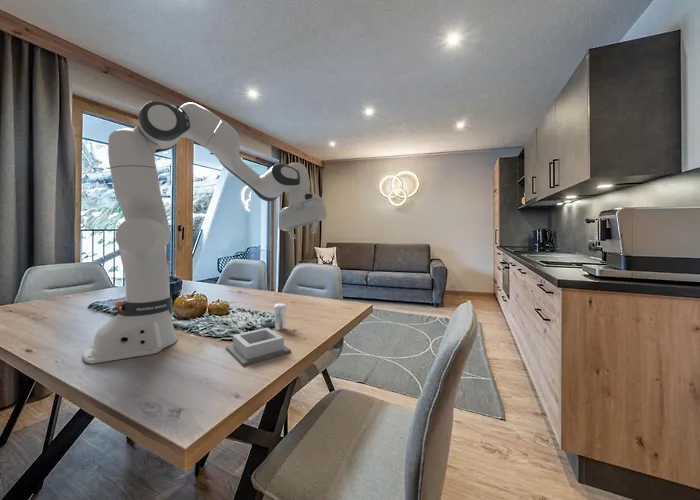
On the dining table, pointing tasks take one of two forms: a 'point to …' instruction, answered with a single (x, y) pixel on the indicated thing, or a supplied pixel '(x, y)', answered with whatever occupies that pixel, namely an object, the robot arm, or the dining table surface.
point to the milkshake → (280, 315)
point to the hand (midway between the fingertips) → (303, 235)
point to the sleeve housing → (257, 346)
